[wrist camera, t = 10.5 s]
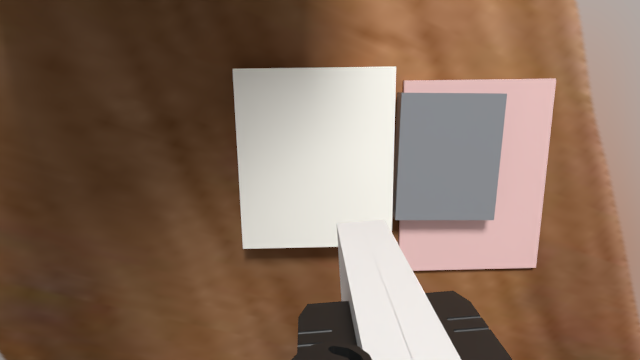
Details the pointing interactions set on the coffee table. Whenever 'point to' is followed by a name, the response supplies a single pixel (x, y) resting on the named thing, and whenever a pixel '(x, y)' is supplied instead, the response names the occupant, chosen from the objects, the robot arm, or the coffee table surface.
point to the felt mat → (512, 191)
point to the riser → (313, 152)
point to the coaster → (447, 155)
